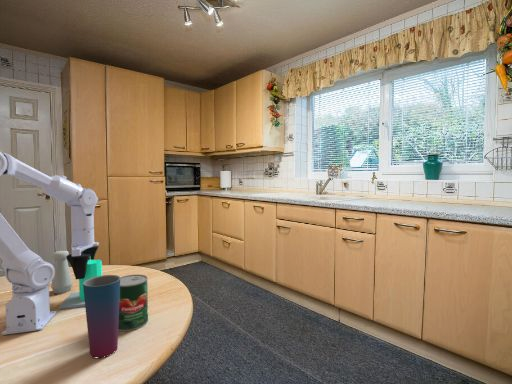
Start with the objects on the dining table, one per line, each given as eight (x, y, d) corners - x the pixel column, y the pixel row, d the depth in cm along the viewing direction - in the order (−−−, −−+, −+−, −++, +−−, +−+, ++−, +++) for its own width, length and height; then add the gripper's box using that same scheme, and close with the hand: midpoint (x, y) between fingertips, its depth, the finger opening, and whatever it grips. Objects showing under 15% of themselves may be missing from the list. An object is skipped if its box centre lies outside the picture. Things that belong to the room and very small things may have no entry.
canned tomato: (126, 334, 66) (125, 287, 65) (107, 325, 70) (105, 281, 69) (155, 320, 73) (154, 277, 72) (135, 312, 77) (134, 272, 76)
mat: (99, 304, 82) (99, 302, 82) (59, 309, 79) (59, 306, 79) (107, 291, 91) (107, 289, 91) (71, 295, 88) (71, 293, 88)
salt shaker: (77, 288, 95) (76, 249, 94) (64, 295, 89) (62, 253, 88) (60, 287, 95) (59, 249, 95) (46, 294, 89) (45, 253, 89)
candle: (96, 300, 83) (95, 259, 82) (75, 300, 83) (73, 259, 82) (106, 292, 89) (105, 254, 88) (86, 292, 89) (85, 254, 88)
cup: (127, 341, 63) (125, 274, 62) (113, 361, 56) (111, 286, 56) (96, 342, 63) (94, 274, 62) (77, 361, 56) (75, 286, 55)
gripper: (91, 232, 78) (93, 281, 79) (103, 224, 92) (104, 266, 93) (62, 233, 76) (63, 283, 77) (78, 225, 90) (79, 268, 91)
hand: (84, 274), depth 85 cm, fingers open, 7 cm apart
